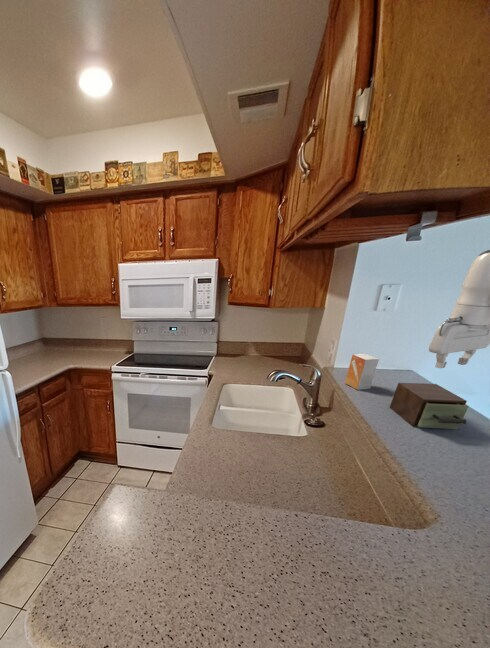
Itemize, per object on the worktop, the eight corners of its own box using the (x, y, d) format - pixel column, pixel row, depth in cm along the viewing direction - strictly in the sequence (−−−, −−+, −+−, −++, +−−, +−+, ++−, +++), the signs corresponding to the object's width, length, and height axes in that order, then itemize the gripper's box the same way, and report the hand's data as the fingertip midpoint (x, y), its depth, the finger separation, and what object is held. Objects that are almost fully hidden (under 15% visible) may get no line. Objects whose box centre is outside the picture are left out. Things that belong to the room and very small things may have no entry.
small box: (344, 383, 143) (352, 354, 137) (357, 382, 144) (365, 353, 138) (356, 390, 136) (365, 359, 130) (370, 389, 137) (379, 358, 131)
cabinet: (454, 428, 106) (467, 400, 101) (412, 426, 107) (423, 399, 103) (426, 408, 120) (436, 383, 115) (389, 407, 121) (398, 382, 116)
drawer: (467, 435, 100) (479, 412, 96) (427, 433, 101) (437, 410, 97) (430, 410, 116) (439, 389, 113) (396, 408, 117) (404, 388, 114)
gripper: (458, 320, 82) (437, 373, 89) (509, 315, 88) (486, 365, 95) (432, 316, 88) (414, 366, 94) (482, 312, 94) (462, 359, 100)
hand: (450, 366), depth 95 cm, fingers open, 8 cm apart
